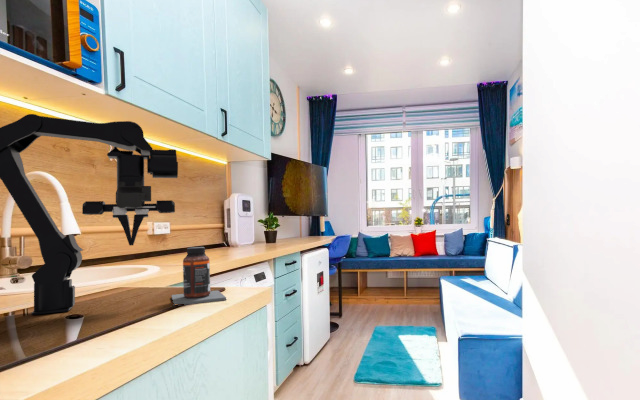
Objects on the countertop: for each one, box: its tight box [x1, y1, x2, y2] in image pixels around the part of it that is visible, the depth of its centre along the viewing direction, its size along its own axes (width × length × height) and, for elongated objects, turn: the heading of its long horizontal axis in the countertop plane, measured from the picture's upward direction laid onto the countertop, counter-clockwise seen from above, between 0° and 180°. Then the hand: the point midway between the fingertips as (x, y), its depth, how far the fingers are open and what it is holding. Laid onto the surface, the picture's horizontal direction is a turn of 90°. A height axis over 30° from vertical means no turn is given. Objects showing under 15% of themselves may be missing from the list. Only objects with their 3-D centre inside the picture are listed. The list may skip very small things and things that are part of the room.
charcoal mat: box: [170, 290, 227, 306], centre depth 91 cm, size 11×11×1 cm
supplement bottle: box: [182, 246, 211, 298], centre depth 91 cm, size 6×6×11 cm
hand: (131, 245), depth 90 cm, fingers closed
